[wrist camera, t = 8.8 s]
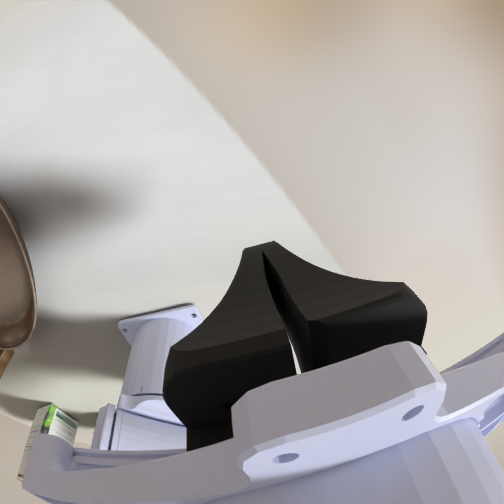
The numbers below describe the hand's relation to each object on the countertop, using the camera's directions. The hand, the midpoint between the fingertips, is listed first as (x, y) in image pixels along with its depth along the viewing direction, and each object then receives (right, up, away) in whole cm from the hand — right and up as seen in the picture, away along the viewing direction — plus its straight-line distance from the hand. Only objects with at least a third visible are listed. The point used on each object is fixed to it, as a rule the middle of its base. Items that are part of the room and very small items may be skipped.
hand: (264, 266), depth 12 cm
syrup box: (-31, -25, +20) cm, 45 cm away
